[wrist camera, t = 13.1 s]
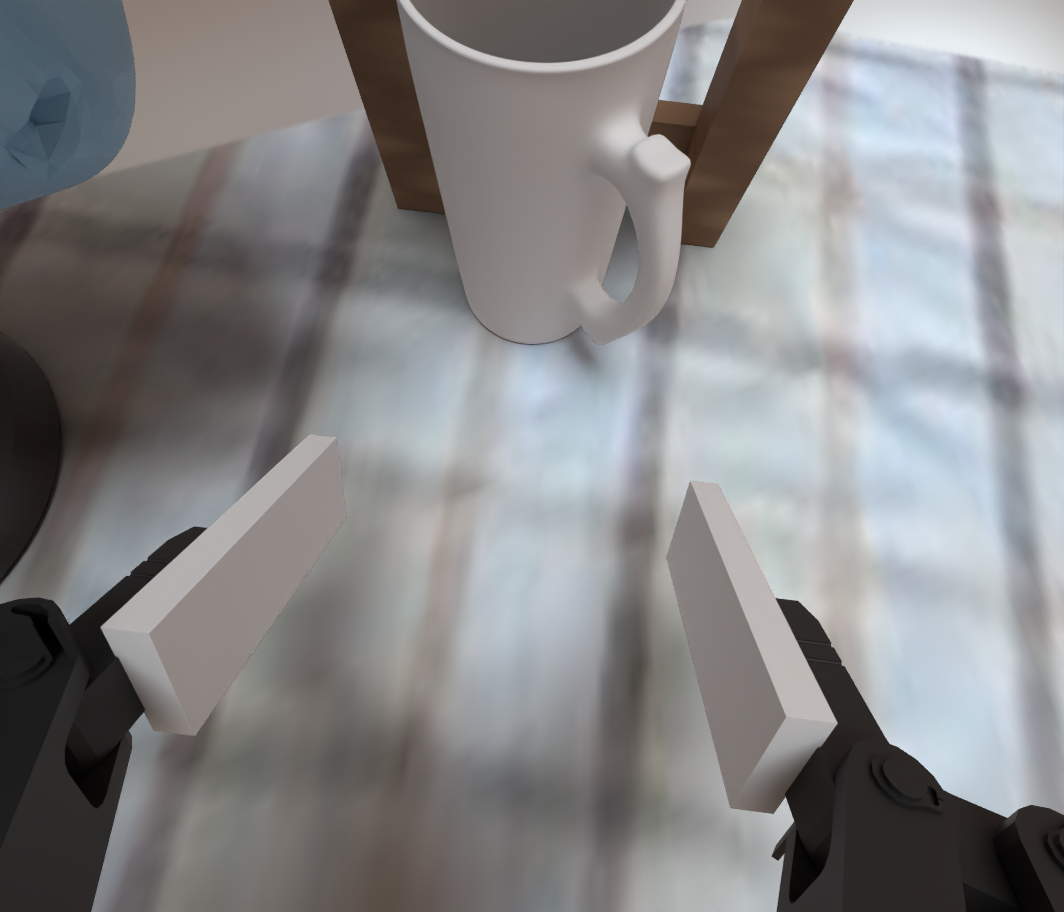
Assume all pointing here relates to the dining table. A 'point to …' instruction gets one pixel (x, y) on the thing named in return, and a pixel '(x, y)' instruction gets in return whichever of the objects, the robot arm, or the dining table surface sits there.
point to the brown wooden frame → (696, 130)
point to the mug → (550, 155)
